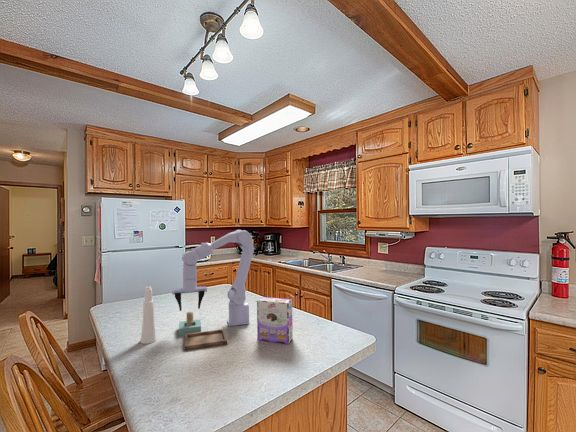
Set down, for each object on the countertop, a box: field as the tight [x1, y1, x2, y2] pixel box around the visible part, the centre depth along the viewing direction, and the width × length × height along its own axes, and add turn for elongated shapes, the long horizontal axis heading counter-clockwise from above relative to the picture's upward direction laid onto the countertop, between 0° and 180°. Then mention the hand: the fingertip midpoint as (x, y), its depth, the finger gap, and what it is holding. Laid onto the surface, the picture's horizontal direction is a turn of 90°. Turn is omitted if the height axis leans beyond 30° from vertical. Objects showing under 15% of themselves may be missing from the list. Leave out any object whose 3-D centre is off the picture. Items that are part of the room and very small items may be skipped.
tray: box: [184, 328, 229, 351], centre depth 115 cm, size 16×12×2 cm
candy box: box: [256, 296, 294, 345], centre depth 117 cm, size 14×6×16 cm, turn 71°
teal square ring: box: [178, 318, 202, 337], centre depth 125 cm, size 9×9×3 cm
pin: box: [186, 311, 194, 326], centre depth 125 cm, size 3×3×8 cm
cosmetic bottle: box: [139, 285, 157, 345], centre depth 115 cm, size 6×6×22 cm
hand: (189, 309), depth 125 cm, fingers open, 7 cm apart
